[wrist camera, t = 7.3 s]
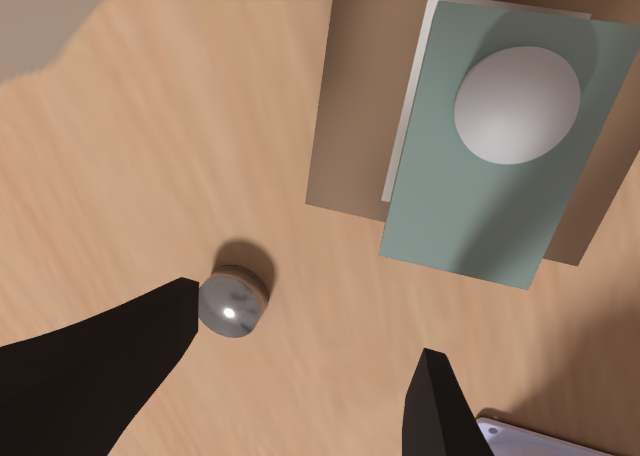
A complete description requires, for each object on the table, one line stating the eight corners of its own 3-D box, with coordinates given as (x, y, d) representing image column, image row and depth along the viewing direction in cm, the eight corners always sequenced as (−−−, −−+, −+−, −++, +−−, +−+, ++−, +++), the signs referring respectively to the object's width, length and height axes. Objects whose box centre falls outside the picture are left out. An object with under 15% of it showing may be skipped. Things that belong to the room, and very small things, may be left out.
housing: (497, 223, 16) (534, 305, 11) (390, 200, 16) (376, 268, 11) (569, 35, 13) (670, 24, 7) (432, 17, 13) (439, -4, 8)
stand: (680, -2, 13) (731, -12, 11) (560, 243, 18) (579, 270, 16) (350, -43, 15) (338, -59, 13) (316, 188, 20) (303, 206, 18)
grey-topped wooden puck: (271, 272, 23) (259, 291, 21) (266, 324, 25) (255, 345, 23) (210, 257, 23) (193, 273, 22) (210, 308, 25) (194, 327, 24)
